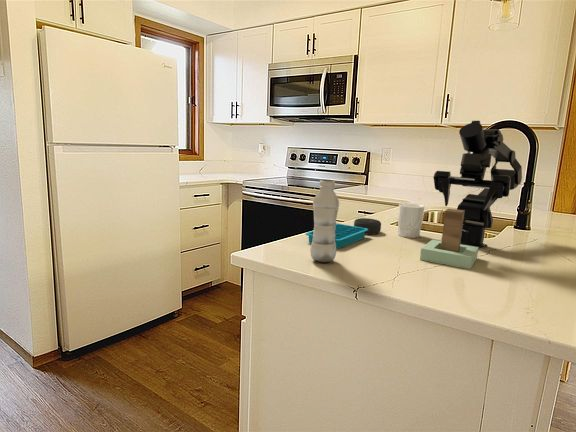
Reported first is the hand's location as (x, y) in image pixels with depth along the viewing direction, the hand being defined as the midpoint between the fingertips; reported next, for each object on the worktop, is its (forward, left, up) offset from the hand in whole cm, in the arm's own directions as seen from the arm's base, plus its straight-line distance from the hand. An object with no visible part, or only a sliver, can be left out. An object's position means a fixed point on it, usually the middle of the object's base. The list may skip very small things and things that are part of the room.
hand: (464, 207), depth 103 cm
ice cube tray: (+21, -27, -14) cm, 37 cm away
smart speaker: (+5, -33, -14) cm, 36 cm away
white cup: (-5, -24, -14) cm, 28 cm away
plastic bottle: (+37, -10, -14) cm, 40 cm away
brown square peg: (+4, 0, -14) cm, 14 cm away
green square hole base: (+4, 0, -14) cm, 14 cm away
